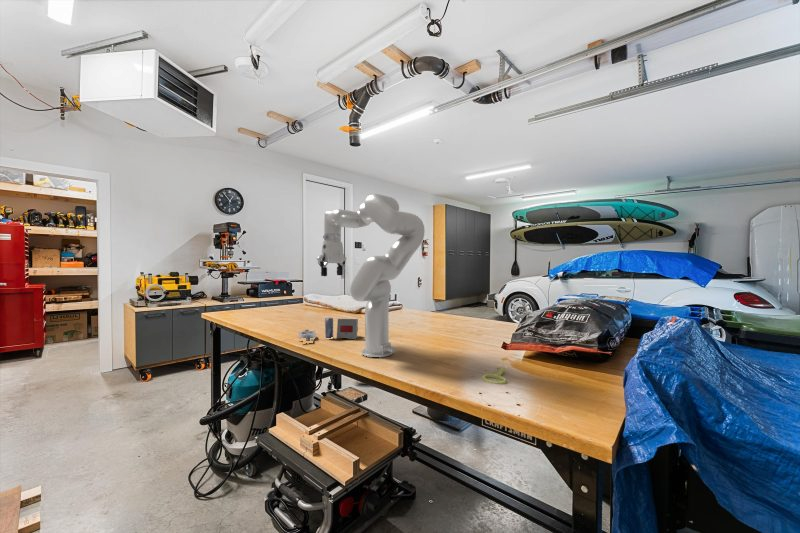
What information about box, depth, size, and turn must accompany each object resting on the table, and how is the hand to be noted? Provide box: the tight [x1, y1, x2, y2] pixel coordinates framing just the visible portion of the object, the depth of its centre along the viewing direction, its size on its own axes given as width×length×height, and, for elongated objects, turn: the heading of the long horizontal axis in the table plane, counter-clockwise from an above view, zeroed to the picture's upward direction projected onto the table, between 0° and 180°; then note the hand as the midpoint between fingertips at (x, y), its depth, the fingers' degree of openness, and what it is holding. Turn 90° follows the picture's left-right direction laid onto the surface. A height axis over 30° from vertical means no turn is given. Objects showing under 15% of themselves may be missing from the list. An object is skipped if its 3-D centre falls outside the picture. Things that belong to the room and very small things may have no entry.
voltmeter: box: [336, 317, 359, 340], centre depth 157 cm, size 27×11×10 cm, turn 117°
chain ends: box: [298, 329, 317, 342], centre depth 154 cm, size 24×8×3 cm, turn 18°
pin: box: [324, 317, 334, 338], centre depth 152 cm, size 4×4×10 cm
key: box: [482, 366, 507, 385], centre depth 101 cm, size 7×12×2 cm, turn 162°
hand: (332, 275), depth 144 cm, fingers open, 9 cm apart
